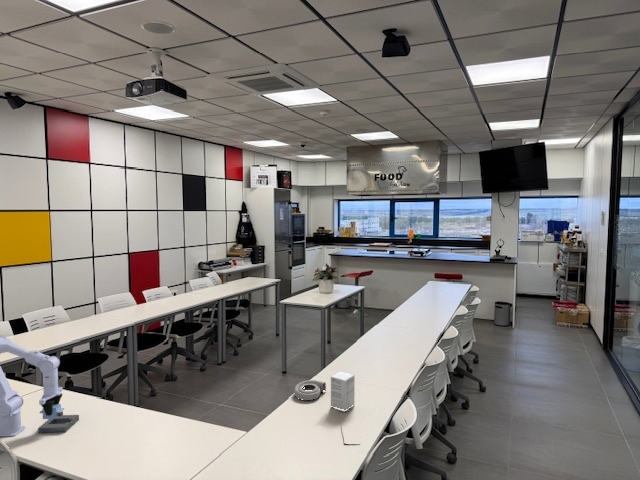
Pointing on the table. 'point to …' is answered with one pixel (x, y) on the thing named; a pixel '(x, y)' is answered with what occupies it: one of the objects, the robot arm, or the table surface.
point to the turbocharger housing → (309, 385)
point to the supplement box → (342, 390)
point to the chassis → (58, 424)
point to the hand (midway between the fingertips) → (51, 412)
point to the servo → (53, 412)
